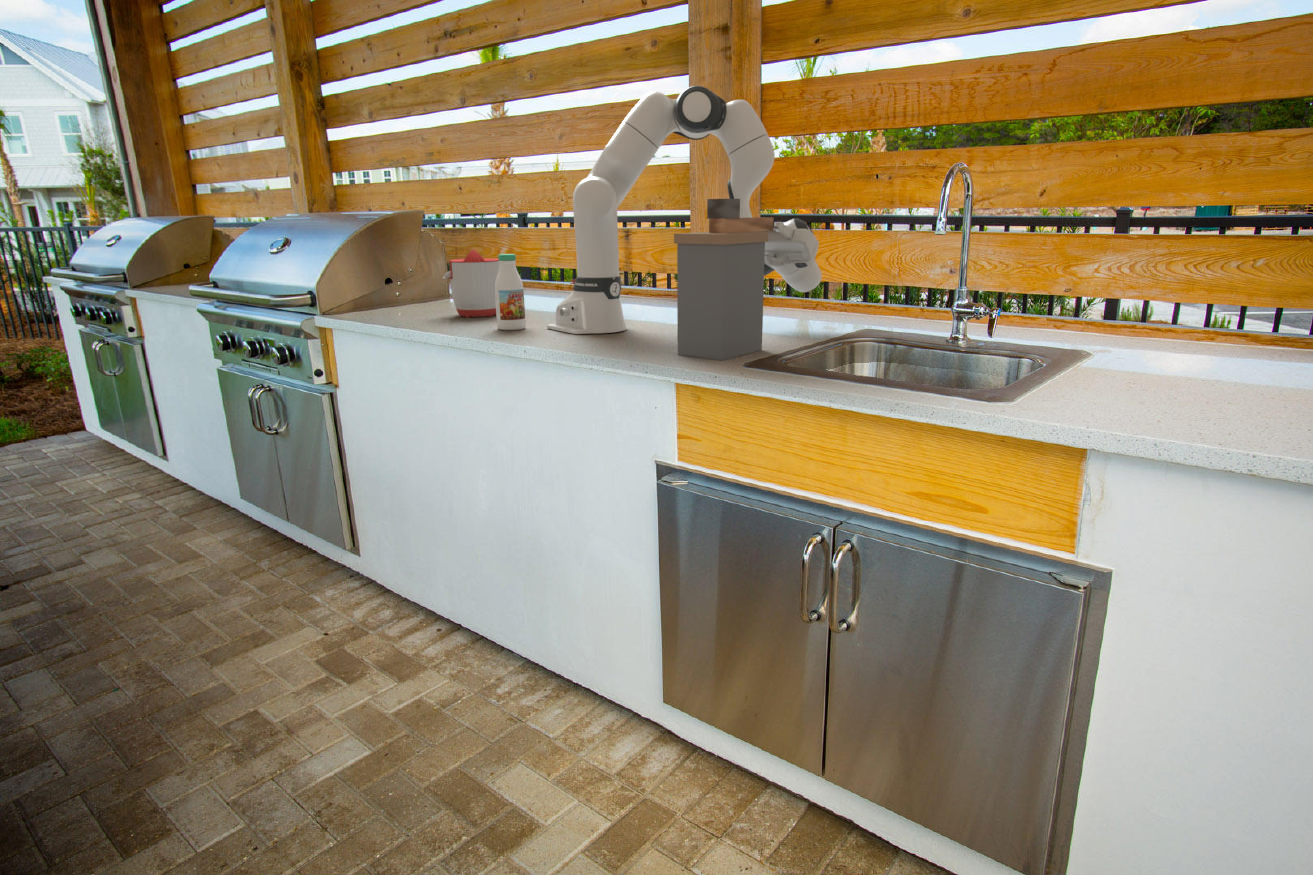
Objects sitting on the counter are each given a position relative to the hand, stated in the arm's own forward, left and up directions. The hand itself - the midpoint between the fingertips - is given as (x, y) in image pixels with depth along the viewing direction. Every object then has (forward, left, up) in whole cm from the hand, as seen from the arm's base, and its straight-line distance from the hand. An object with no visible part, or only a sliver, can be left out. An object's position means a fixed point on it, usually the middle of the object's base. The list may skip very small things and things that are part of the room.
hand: (759, 224), depth 176 cm
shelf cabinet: (0, -15, -27) cm, 32 cm away
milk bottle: (-67, -19, -28) cm, 75 cm away
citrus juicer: (-98, -7, -28) cm, 102 cm away
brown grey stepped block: (0, -7, -1) cm, 8 cm away
